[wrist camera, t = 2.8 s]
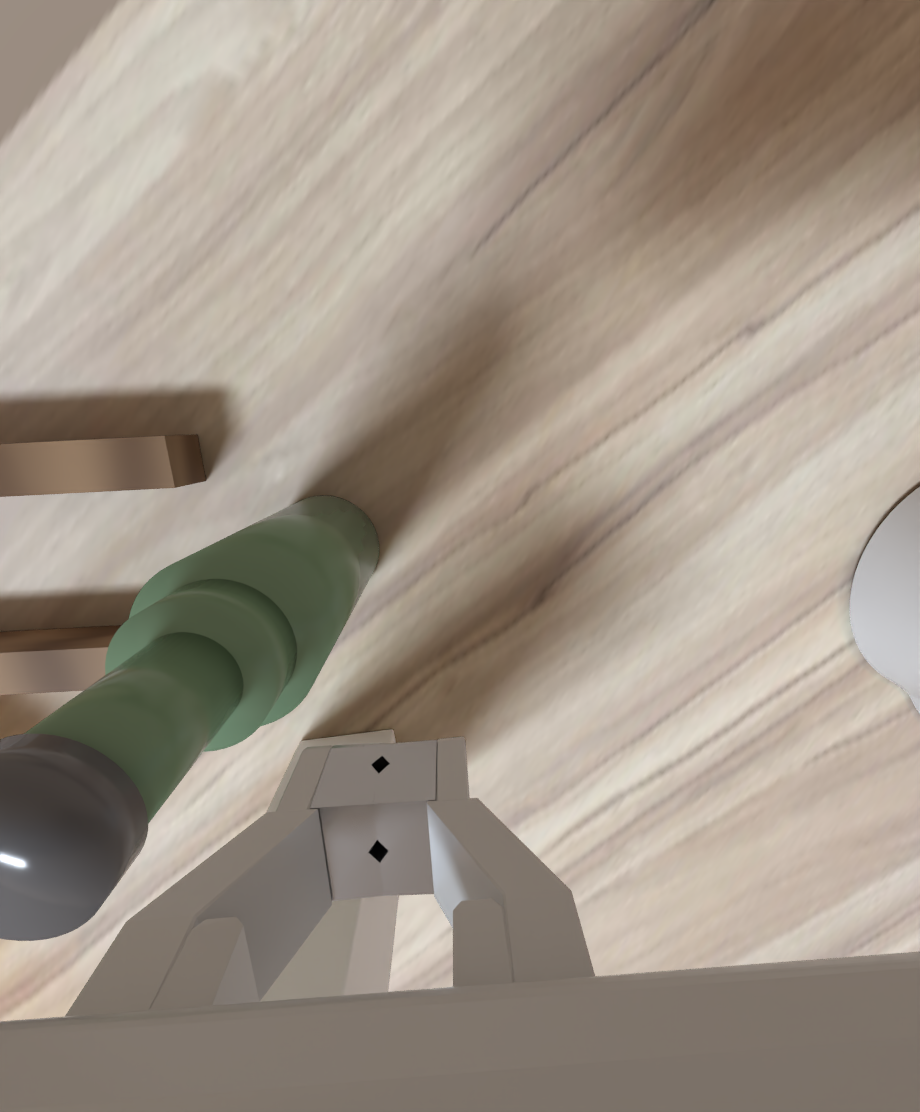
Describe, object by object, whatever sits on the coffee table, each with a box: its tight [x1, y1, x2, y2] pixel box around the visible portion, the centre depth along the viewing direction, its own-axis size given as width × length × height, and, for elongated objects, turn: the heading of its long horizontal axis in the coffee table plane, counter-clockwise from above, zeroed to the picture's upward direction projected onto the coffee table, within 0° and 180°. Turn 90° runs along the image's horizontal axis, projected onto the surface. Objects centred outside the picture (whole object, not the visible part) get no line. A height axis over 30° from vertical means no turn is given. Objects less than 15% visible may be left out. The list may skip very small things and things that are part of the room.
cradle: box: [0, 435, 206, 695], centre depth 25 cm, size 20×13×4 cm, turn 93°
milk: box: [260, 729, 399, 1002], centre depth 20 cm, size 6×6×22 cm
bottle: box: [0, 495, 379, 941], centre depth 17 cm, size 6×6×20 cm
